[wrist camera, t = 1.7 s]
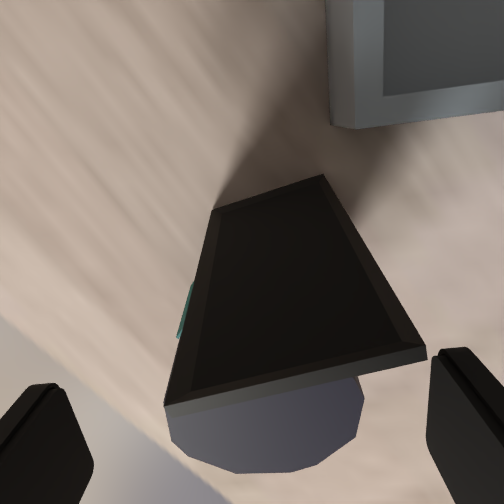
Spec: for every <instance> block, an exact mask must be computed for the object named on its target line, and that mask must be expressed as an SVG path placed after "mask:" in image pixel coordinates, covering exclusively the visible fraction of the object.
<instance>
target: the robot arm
mask: <svg viewBox="0 0 504 504" xmlns="http://www.w3.org/2000/svg"><path fill="white" fill-rule="evenodd" d="M426 442H427V446H428V449H429V452H430V454H431V456H432V458H433V460H434V462H435V464H436V466H437V468H438V470H439V472H440V474H441V476H442V478H443V480H444V482H445V484H446V486H447V488H448V490H449V492H450V494H451V496H452V498H453V500H454V502H455V504H504V387H503V386H502V384H501V383H500V382H499V381H498V380H497V379H496V378H495V377H494V376H493V374H492V373H491V372H490V371H489V370H488V369H487V368H486V367H485V366H484V364H483V363H482V362H481V361H480V360H479V359H478V358H477V357H476V355H475V354H474V353H473V352H472V351H471V350H470V349H469V348H467V347H458V348H446V349H440V351H439V353H438V356H433V357H432V361H431V374H430V387H429V400H428V413H427V427H426ZM93 469H94V461H93V458H92V456H91V453H90V451H89V448H88V446H87V444H86V441H85V439H84V436H83V434H82V431H81V429H80V426H79V424H78V421H77V419H76V417H75V414H74V412H73V409H72V407H71V404H70V402H69V400H68V397H67V395H66V392H65V391H64V389H62V388H60V387H59V386H58V385H57V384H56V383H47V384H36V385H31V386H29V387H28V388H27V389H26V390H25V391H24V392H23V393H22V394H21V396H20V397H19V398H18V399H17V400H16V401H15V403H14V404H13V405H12V406H11V407H10V409H9V410H8V411H7V412H6V413H5V415H3V417H2V418H1V419H0V504H79V502H80V500H81V498H82V496H83V494H84V491H85V489H86V487H87V485H88V483H89V481H90V479H91V476H92V474H93Z"/></svg>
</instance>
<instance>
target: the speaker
mask: <svg viewBox="0 0 504 504" xmlns="http://www.w3.org/2000/svg"><path fill="white" fill-rule="evenodd" d="M179 337H180V339H179ZM176 338H178V339H179V343H178V347H177V351H176V355H175V359H174V363H173V367H172V371H171V374H170V378H169V382H168V386H167V390H166V394H165V398H164V402H163V403H164V406H163V407H164V408H165V412H166V417H167V422H168V427H169V431H170V436H171V441H172V442H173V443H174V444H175V445H176V446H177V447H179V448H180V449H181V450H182V451H183V452H184V453H185V454H186V455H187V456H189V457H192V458H194V459H197V460H200V461H203V462H205V463H208V464H211V465H214V466H216V467H219V468H222V469H224V470H227V471H230V472H233V473H235V474H245V473H289V472H294V471H298V470H301V469H304V468H308V467H311V466H314V465H317V464H319V463H320V462H321V461H323V460H324V459H326V458H327V457H328V456H330V455H331V454H333V453H334V452H335V451H337V450H338V449H340V448H341V447H342V446H344V445H345V444H347V443H348V442H349V441H351V440H352V439H354V438H355V437H356V433H357V429H358V424H359V420H360V416H361V411H362V407H363V403H364V395H363V392H362V389H361V385H360V382H359V379H358V376H360V375H364V374H368V373H373V372H377V371H382V370H386V369H390V368H395V367H399V366H403V365H408V364H412V363H417V362H421V361H425V360H428V359H427V351H426V345H425V343H424V341H423V340H422V338H421V336H420V335H419V333H418V331H417V330H416V328H415V326H414V325H413V323H412V321H411V320H410V318H409V316H408V315H407V313H406V311H405V310H404V308H403V306H402V305H401V303H400V301H399V300H398V298H397V296H396V295H395V293H394V291H393V290H392V288H391V286H390V285H389V283H388V281H387V280H386V278H385V276H384V275H383V273H382V271H381V270H380V268H379V266H378V265H377V263H376V261H375V260H374V258H373V256H372V255H371V253H370V251H369V250H368V248H367V246H366V244H365V243H364V241H363V239H362V238H361V236H360V234H359V233H358V231H357V229H356V228H355V226H354V224H353V223H352V221H351V219H350V218H349V216H348V214H347V213H346V211H345V209H344V208H343V206H342V204H341V203H340V201H339V199H338V198H337V196H336V194H335V193H334V191H333V189H332V188H331V186H330V184H329V183H328V181H327V179H326V178H325V176H324V174H321V175H318V176H315V177H312V178H309V179H306V180H303V181H300V182H297V183H294V184H291V185H288V186H284V187H281V188H278V189H275V190H272V191H269V192H266V193H263V194H260V195H257V196H254V197H251V198H248V199H245V200H241V201H238V202H235V203H232V204H229V205H226V206H223V207H220V208H217V209H214V210H212V211H211V215H210V219H209V223H208V227H207V232H206V236H205V240H204V244H203V248H202V252H201V256H200V260H199V264H198V268H197V272H196V276H195V280H194V282H193V283H192V285H191V287H190V290H189V294H188V297H187V301H186V304H185V308H184V311H183V315H182V318H181V322H180V325H179V329H178V332H177V336H176Z"/></svg>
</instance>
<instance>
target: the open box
mask: <svg viewBox="0 0 504 504" xmlns="http://www.w3.org/2000/svg"><path fill="white" fill-rule="evenodd" d="M325 8H326V32H327V57H328V81H329V105H330V125H333V126H339V127H344V128H350V129H363V128H371V127H379V126H386V125H394V124H402V123H410V122H418V121H425V120H433V119H441V118H449V117H457V116H464V115H472V114H480V113H488V112H496V111H503V110H504V0H325Z"/></svg>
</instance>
